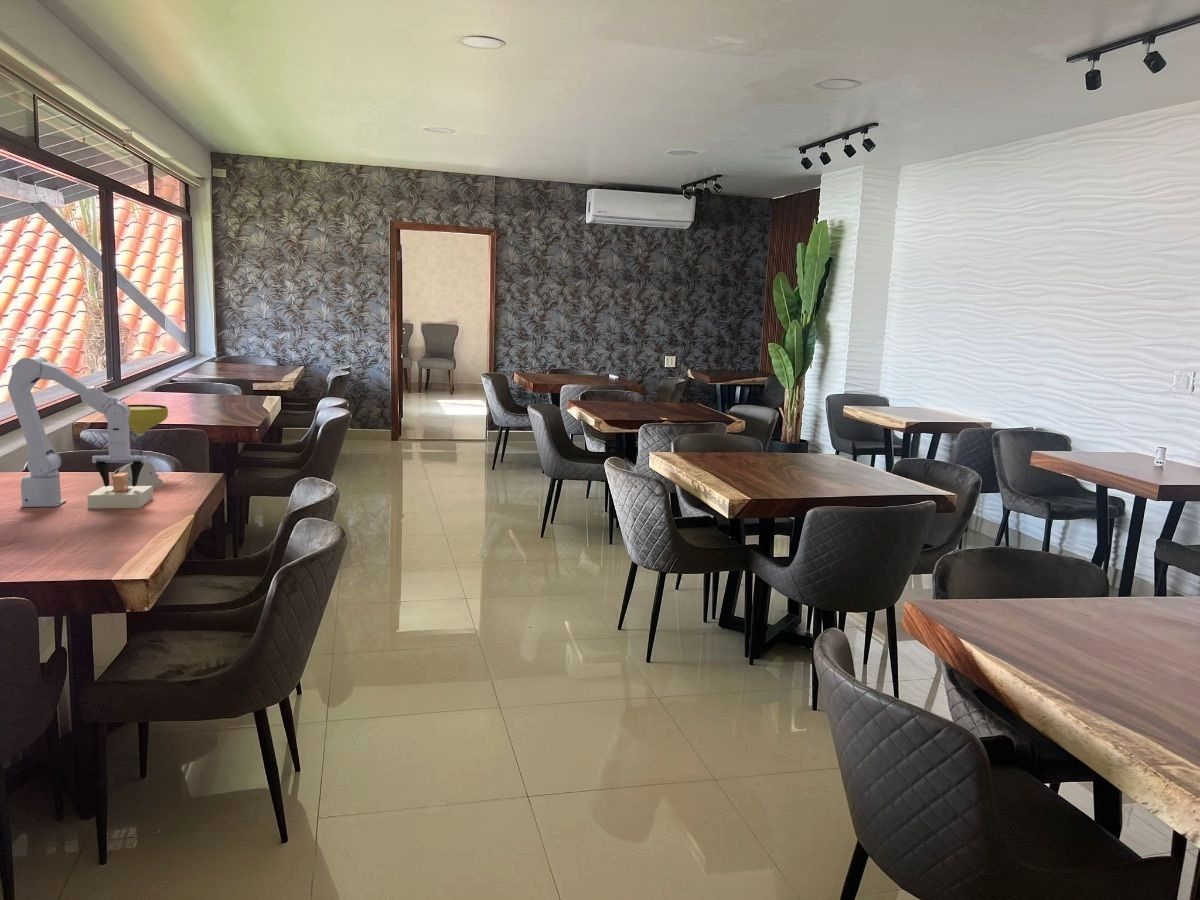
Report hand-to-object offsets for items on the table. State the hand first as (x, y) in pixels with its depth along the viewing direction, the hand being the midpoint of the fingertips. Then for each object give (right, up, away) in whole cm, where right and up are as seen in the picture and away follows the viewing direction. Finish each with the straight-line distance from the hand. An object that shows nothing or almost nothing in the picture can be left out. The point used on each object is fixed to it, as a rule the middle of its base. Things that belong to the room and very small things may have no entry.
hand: (120, 485), depth 256 cm
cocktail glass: (-16, +1, +41) cm, 44 cm away
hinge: (-7, -2, +22) cm, 23 cm away
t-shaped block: (0, -5, +1) cm, 5 cm away
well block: (0, -5, +1) cm, 5 cm away
